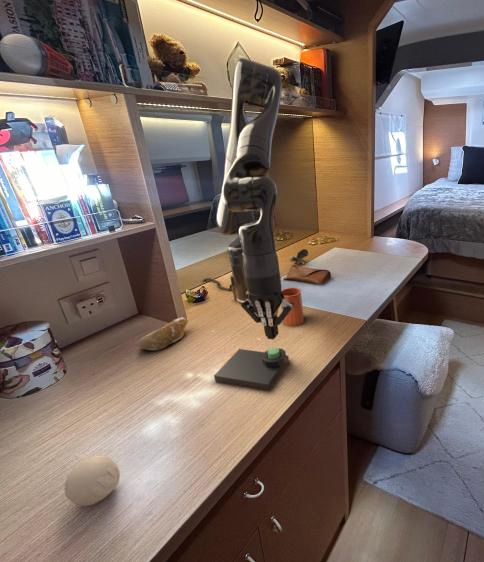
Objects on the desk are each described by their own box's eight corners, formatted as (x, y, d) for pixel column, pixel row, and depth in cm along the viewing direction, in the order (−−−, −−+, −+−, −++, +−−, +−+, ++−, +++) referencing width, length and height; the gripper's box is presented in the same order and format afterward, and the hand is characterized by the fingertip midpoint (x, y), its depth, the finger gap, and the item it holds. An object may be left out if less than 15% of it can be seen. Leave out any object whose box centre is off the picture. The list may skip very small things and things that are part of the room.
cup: (280, 324, 103) (276, 295, 99) (288, 315, 109) (285, 286, 105) (299, 327, 101) (296, 297, 98) (306, 317, 107) (304, 288, 103)
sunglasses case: (281, 279, 135) (284, 262, 135) (290, 281, 141) (293, 266, 142) (322, 285, 128) (325, 267, 129) (329, 287, 134) (332, 271, 135)
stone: (129, 332, 90) (178, 306, 101) (133, 349, 94) (180, 322, 105) (146, 345, 88) (195, 316, 99) (150, 362, 91) (196, 332, 102)
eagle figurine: (309, 265, 146) (312, 255, 153) (298, 253, 143) (302, 243, 150) (296, 273, 149) (299, 263, 156) (285, 262, 146) (289, 252, 153)
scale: (215, 382, 80) (212, 369, 79) (241, 354, 90) (238, 342, 89) (270, 391, 76) (268, 378, 75) (290, 361, 86) (289, 349, 85)
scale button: (266, 358, 82) (265, 353, 82) (271, 352, 85) (270, 346, 84) (276, 360, 82) (275, 354, 81) (281, 353, 84) (280, 348, 84)
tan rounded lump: (103, 518, 52) (88, 489, 49) (63, 511, 53) (46, 482, 50) (135, 477, 58) (123, 449, 55) (98, 472, 59) (85, 444, 57)
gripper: (296, 265, 76) (303, 332, 83) (244, 262, 79) (255, 326, 86) (282, 278, 69) (291, 349, 76) (226, 274, 73) (239, 343, 80)
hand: (272, 337), depth 81 cm, fingers closed
